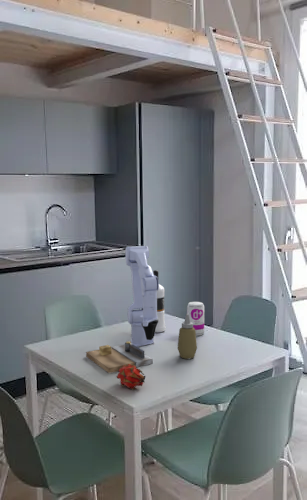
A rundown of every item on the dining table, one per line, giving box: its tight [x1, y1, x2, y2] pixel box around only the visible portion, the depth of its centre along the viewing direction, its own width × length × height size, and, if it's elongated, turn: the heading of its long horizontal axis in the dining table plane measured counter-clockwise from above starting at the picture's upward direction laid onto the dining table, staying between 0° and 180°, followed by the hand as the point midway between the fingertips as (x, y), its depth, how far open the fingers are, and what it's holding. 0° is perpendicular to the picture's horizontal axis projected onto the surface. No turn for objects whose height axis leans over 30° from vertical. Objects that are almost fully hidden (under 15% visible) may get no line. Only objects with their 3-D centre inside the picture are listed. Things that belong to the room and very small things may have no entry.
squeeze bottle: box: [177, 313, 198, 360], centre depth 198 cm, size 8×8×18 cm
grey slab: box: [85, 344, 154, 374], centre depth 196 cm, size 19×22×5 cm
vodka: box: [152, 269, 167, 334], centre depth 235 cm, size 9×9×30 cm
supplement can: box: [186, 301, 205, 337], centre depth 230 cm, size 8×8×15 cm
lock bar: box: [124, 340, 145, 359], centre depth 196 cm, size 14×3×4 cm, turn 31°
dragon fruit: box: [115, 363, 146, 391], centre depth 169 cm, size 8×8×12 cm
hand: (150, 338), depth 197 cm, fingers closed
